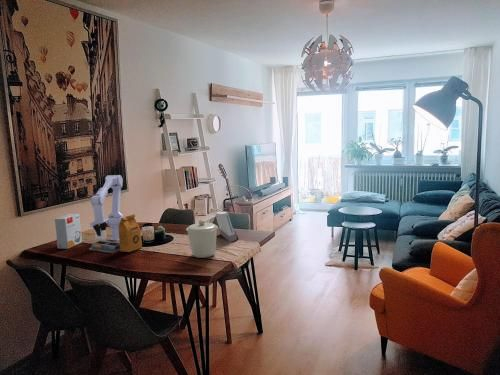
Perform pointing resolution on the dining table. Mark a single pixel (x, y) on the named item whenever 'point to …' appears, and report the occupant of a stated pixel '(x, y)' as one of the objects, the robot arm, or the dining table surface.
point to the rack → (105, 246)
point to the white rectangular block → (101, 235)
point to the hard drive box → (68, 231)
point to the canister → (202, 239)
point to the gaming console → (226, 226)
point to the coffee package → (129, 234)
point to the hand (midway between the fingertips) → (101, 235)
